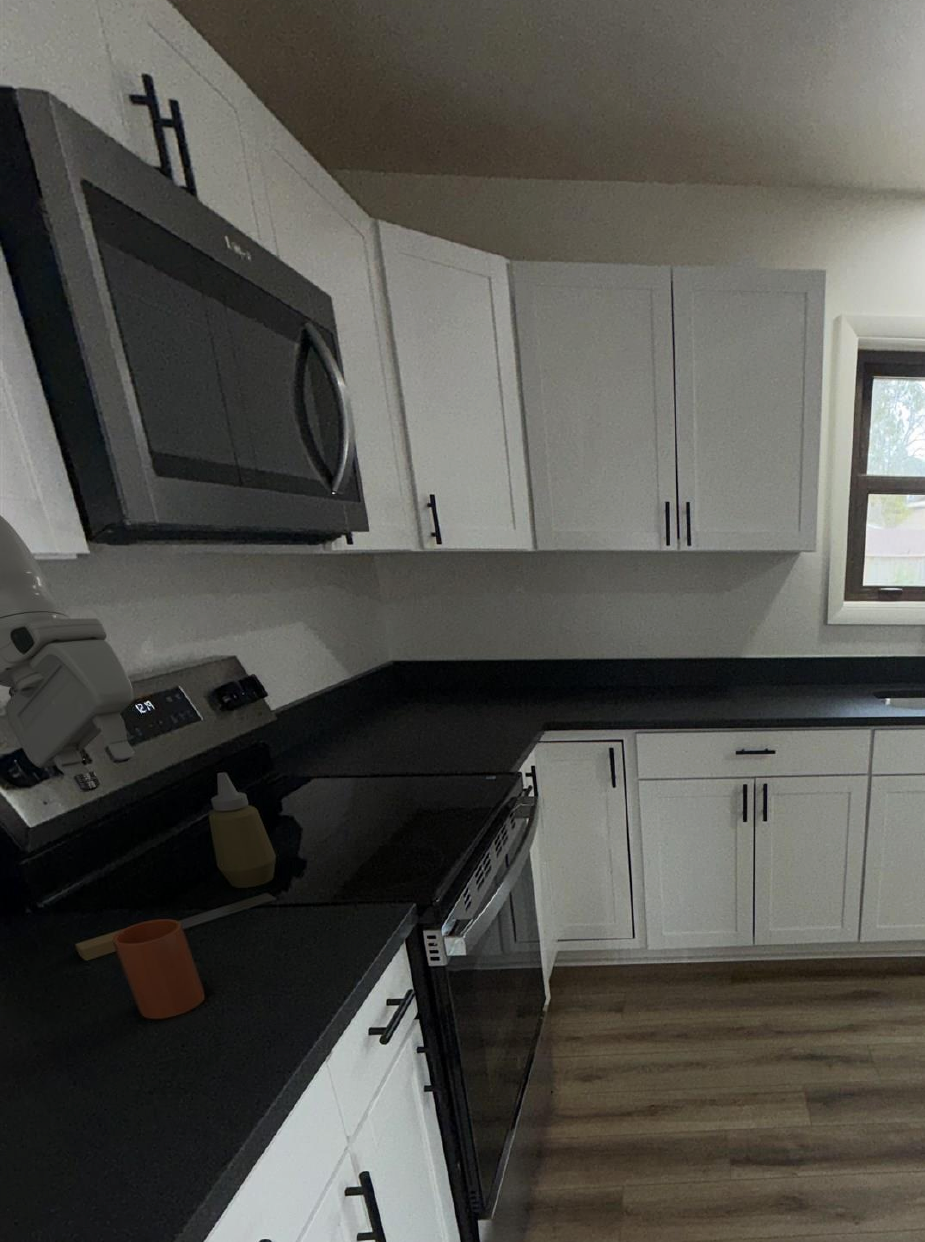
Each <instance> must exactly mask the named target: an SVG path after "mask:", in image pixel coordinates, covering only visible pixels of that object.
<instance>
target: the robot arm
mask: <svg viewBox="0 0 925 1242" xmlns="http://www.w3.org/2000/svg"><path fill="white" fill-rule="evenodd" d="M106 640H107V632H106V629H105V627H104V626H103V624H102V622H101V621H100V620H99V619H98V618H71V617H70V616H69V614H67V612H66V611H65V610H64V609H63V608H62V607H61V606H60V605H59V604H58V603H57V602H56V600H55V598H54V595H53V593H52V588H51V583H50V581H49V579H48V577H47V575H46V574H45V573H44V571H43V569H42V567H41V566H40V564H39V562H38V561H37V559H36V558H35V556H34V555H33V553H32V551H31V550H30V548H29V547H28V546H27V544H26V543H25V542H24V540H23V539H22V537H21V536H20V535H19V533H18V532H17V531H16V529H15V528H14V527H13V526H12V525H11V523H10V522H9V521H8V520H6V519H5V518H4V517H3V516H2V515H1V514H0V686H2V687H5V688H9V689H8V695H9V696H10V698H9V699H8V700H7V702H6V704H5V714H6V718H7V719H8V722H9V724H10V726H11V728H12V731H13V732H14V735H15V736H16V739H17V741H18V742H19V744H20V746H21V748H22V750H23V751H24V753H25V755H26V757H27V759H28V760H29V761H30V762H31V763H32V764H33V765H34V766H35V767H37V768H39V769H40V768H41V769H43V768H49V767H54V766H56V767H57V769H58V770H60V771H61V772H62V773H63V774H64V775H65V776H66V777H68V779H70V780H72V782H73V783H74V786H75V787H76V789H77V790H78V791H79V792H80V793H89V792H93V791H95V790H96V789H98V788H99V787H100V786H101V780H100V779H99V778H98V775H97V774H96V772H95V771H94V770H93V771H90V770H89V769H88V768H87V767H86V765H84V763H82V762H83V761H84V758H83V757H82V755H81V754H80V753H81V752H82V751H83V750H84V749H85V748H86V747H87V746H88V745H89V744H90V743H91V742H92V741H93V740H95V738H96V737H98V736H99V734H101V735H102V737H103V740H104V744H105V745H106V746H105V747H104V751H105V753H106V755H107V756H108V757H109V760H110V761H111V762H112V763H113V764H120V763H126V762H128V761H129V760H131V759H132V758H133V757H134V756H135V752H134V750H133V748H132V746H131V745H130V742H129V741H128V740H129V739H128V735H127V729H126V728H127V727H126V725H125V720H124V719H123V717H122V715H121V713H123V712H124V710H125V709H126V708H128V706H130V705H131V704H132V703H133V702H134V699H135V697H134V689H133V685H132V682H131V680H130V678H129V676H128V673H127V672H126V670H125V667H124V666H123V664H122V662H121V660H120V659H119V657H118V655H117V653H116V651H114V649H113V647H112V645H110V643H109V642H108V641H106Z"/></svg>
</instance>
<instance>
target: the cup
mask: <svg viewBox="0 0 925 1242" xmlns="http://www.w3.org/2000/svg"><path fill="white" fill-rule="evenodd" d="M151 920H152V921H151ZM151 920H147V921H142V922H139V923H136V924H133V925H130V926H127V927H126V928H123V930H122V929H120V930H121V931H120V932H118V933H117V934H116V935H115V936H114V937H113V940H112V941H113V944H114V947H115V949H116V951H115V952H116V954H117V956H118V960H119V962H120V964H121V967H122V970H123V973H124V975H125V978H126V981H127V983H128V986H129V989H130V991H131V994H132V996H133V999H134V1002H135V1004H136V1007H137V1009H138V1012H139V1013H140V1015H141V1016H142V1017H144V1018H146V1019H153V1020H157V1019H160V1020H161V1019H168V1018H172V1017H176V1016H179V1015H182V1014H185V1013H187V1012H189V1011H191V1010H193V1009H195V1008H197V1007H199V1005H200V1004H201V1003H203V1001H204V1000H205V998H206V997H205V996H206V995H205V990H204V987H203V984H202V981H201V979H200V976H199V972H198V969H197V966H196V964H195V961H194V958H193V954H192V951H191V949H190V946H189V943H188V940H187V937H186V933H185V930H183V928H182V925H181V923H180V922H178V921H179V920H177V919H172V918H171V919H170V918H162V919H161V918H160V919H151Z"/></svg>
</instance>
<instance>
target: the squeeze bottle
mask: <svg viewBox="0 0 925 1242" xmlns="http://www.w3.org/2000/svg"><path fill="white" fill-rule="evenodd" d="M216 775H217V795H214V796H213V797H211V799H210V801H211V805H212V808H213V811H212V812H211V813H209V815H208V821H209V826H210V827H209V828H210V833H211V838H212V844H213V850H214V855H215V862H216V867H217V868H218V870H219V871H220V872H221V873H222V875H223V876H224V878H225V879H226V880H227V881H228V883H229V884H230V885H231V886H232V887H233V888H238V889H247V888H254V887H259V886H263V885H264V884H268V883H269V882H270V881H272V880H273V879H274V876H275V868H276V857H277V856H276V853H275V850H274V847H273V845H272V843H271V840H270V837H269V835H268V832H267V830H266V828H265V826H264V822H263V820H262V818H261V816H260V813H259V810H258V808H256V807H255V806H252V805H251V804H250V805H249V800H248V796H247V794H246V793H245V792H240V791H237V790H236V787H235V786H234V784H233V782H232V779H231V778H230V776H229V775H228V773H227V772H223V771H222V772H218V773H217V774H216Z"/></svg>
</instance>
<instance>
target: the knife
mask: <svg viewBox="0 0 925 1242" xmlns="http://www.w3.org/2000/svg"><path fill="white" fill-rule="evenodd" d="M274 901H277V897H275V896H273V895H272V894H270V893H268V892H265V893H261V894H258V895H256V896H251V897H249V898H246V899H243V900H239V901H237V902H234V903H230V904H227V905H224V906H221V907H217V908H215V909H211V910H208V911H205V912H201V913H197V914H195V915H193V916H190V917H186V918H183V919H180V920H177V921H178V922H180V923H181V925H182V928H183V931H185V930H187V929H191V928H193V927H194V928H195V927H197V926H200V925H203V924H207V923H209V922H213V921H216V920H219V919H221V918H225V917H228V916H230V915H234V914H237V913H240V912H243V911H245V910H249V909H252V908H255V907H258V906H261V905H264V904H268V903H271V902H274ZM152 920H153V919H151V920H150V921H152ZM123 929H124V928H123ZM123 929H119V930H116V931H113V932H110V933H107V934H103V935H100V936H97V937H94V938H91V939H87V940H84V941H81V942H78V943H75V948H76V950H77V952H78V955H79V956H80V957H81V958H82V959H83V960H84V961H86V962H87V961H90V960H93V959H96V958H99V957H102V956H106V955H109V954H111V953H114V952H116V949H115V947H114V944H113V941H112V940H113V937H114V936H115V935H116V934H117V933H118V932H120V931H121V930H123Z"/></svg>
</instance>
